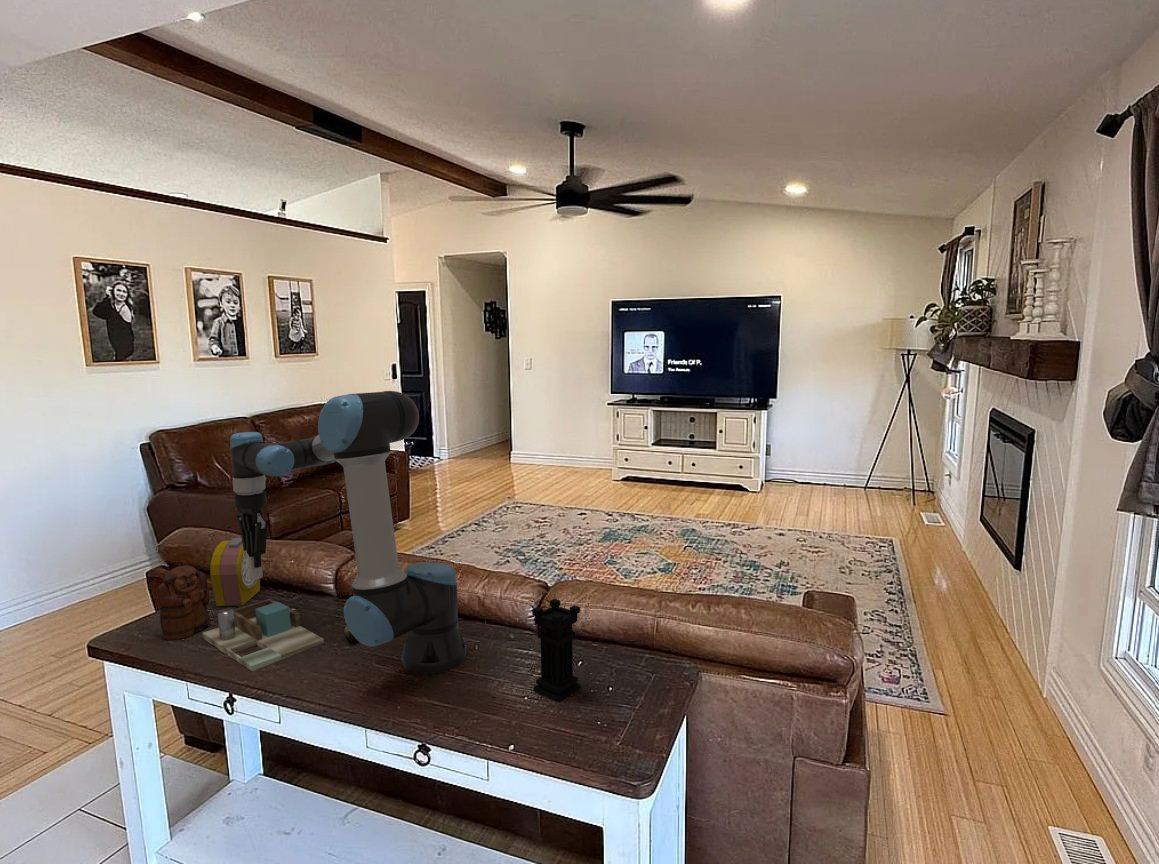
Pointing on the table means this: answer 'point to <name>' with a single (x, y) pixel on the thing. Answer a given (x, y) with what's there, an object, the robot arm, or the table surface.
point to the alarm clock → (232, 574)
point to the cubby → (249, 612)
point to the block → (273, 618)
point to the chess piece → (556, 650)
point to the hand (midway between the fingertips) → (256, 578)
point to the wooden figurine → (183, 603)
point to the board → (264, 645)
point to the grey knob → (226, 624)
